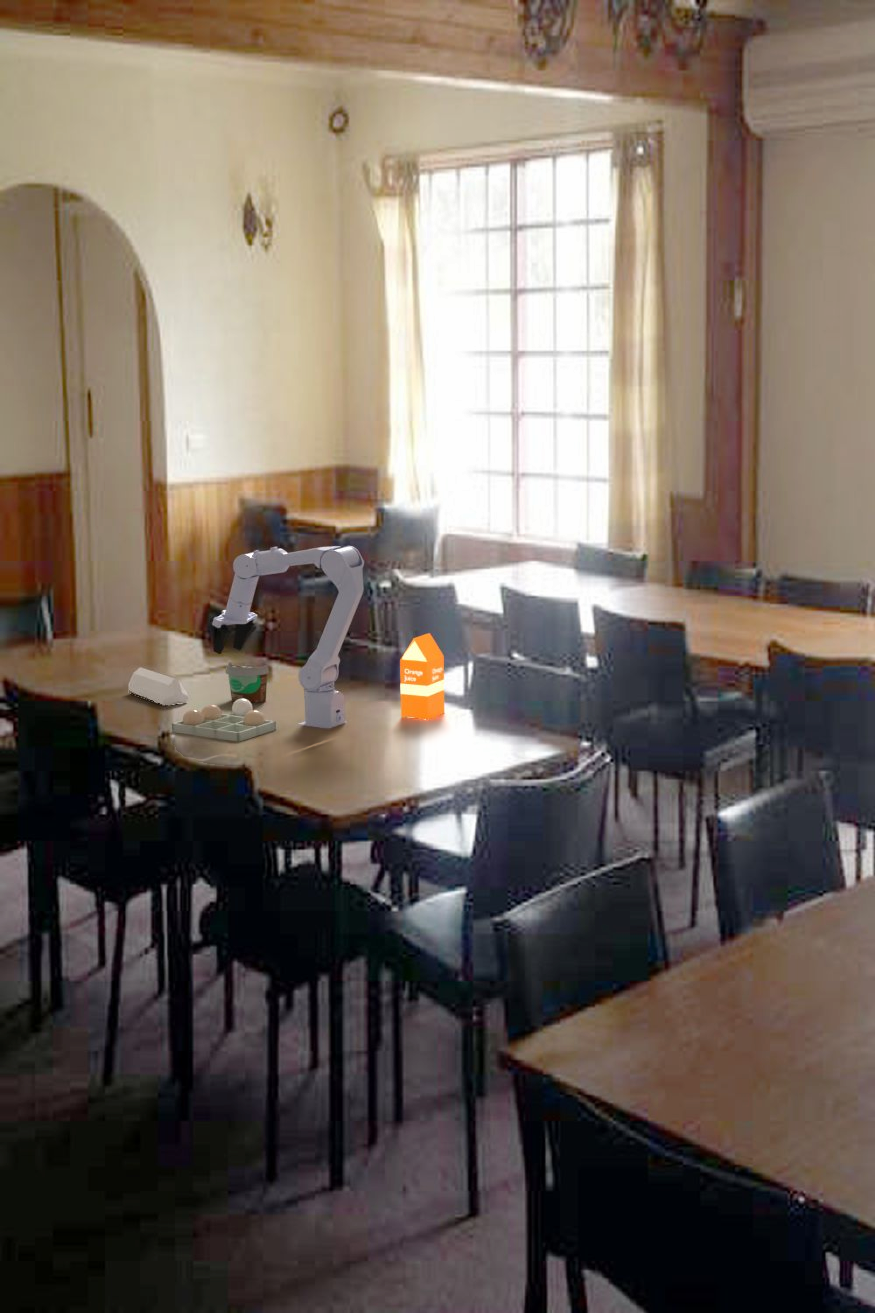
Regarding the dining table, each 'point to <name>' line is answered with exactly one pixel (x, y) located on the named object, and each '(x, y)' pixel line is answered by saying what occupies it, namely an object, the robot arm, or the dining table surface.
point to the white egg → (241, 707)
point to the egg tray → (225, 728)
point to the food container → (248, 682)
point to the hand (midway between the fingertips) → (227, 650)
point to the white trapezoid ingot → (157, 687)
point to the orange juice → (422, 679)
